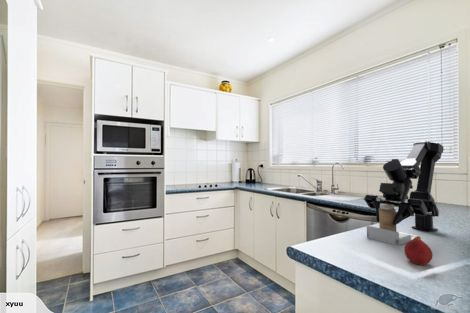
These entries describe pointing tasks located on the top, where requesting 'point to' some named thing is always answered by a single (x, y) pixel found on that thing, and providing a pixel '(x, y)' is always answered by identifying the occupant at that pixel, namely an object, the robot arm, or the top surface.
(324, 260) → the top surface
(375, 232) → the lane rack
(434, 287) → the top surface
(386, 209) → the pepper mill
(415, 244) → the onion
